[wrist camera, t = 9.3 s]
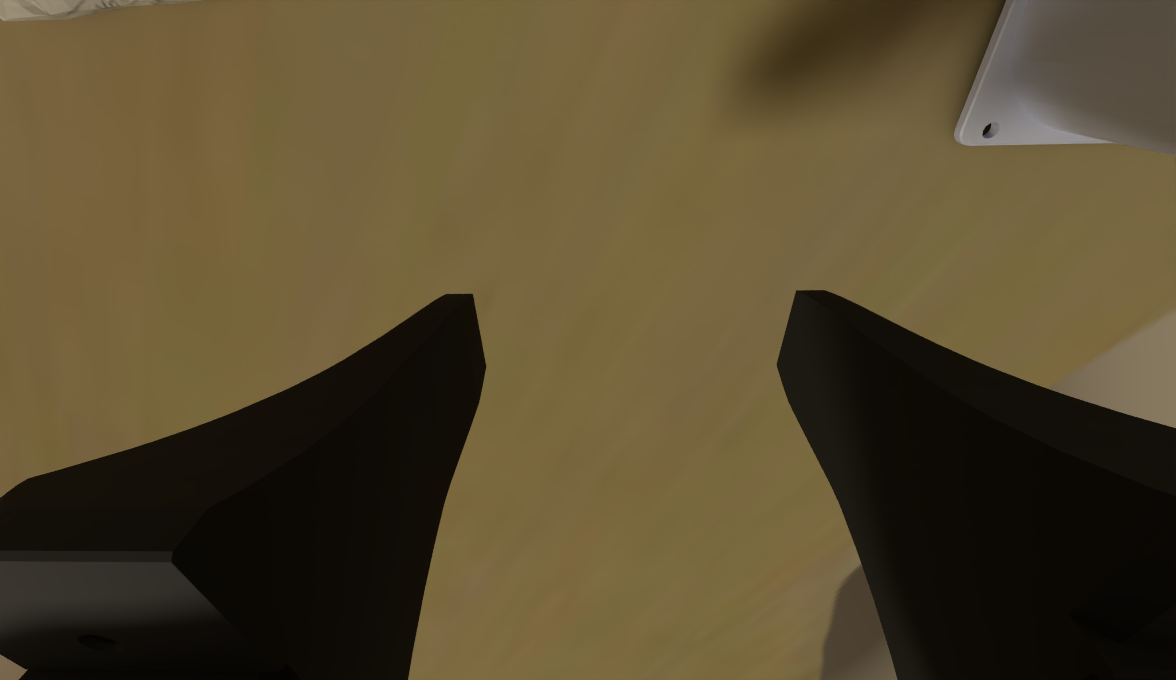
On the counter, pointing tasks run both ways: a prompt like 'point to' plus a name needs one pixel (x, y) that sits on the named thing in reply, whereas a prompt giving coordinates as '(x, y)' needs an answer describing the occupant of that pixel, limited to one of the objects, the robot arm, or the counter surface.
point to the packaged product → (67, 8)
